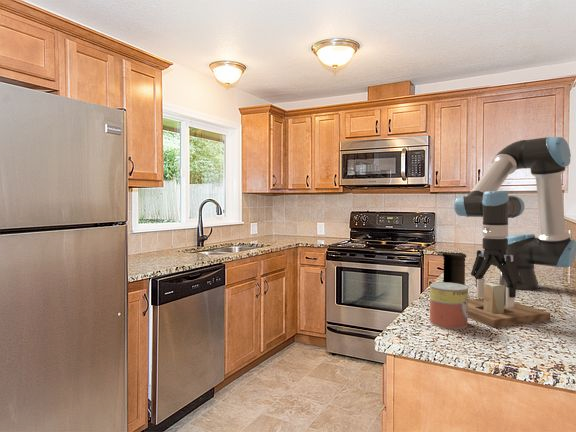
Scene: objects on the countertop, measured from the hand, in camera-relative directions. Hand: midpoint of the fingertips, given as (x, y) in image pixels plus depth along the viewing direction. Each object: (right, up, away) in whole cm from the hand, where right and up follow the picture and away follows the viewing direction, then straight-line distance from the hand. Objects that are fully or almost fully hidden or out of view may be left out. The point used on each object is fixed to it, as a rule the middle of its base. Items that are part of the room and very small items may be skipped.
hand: (494, 302), depth 136 cm
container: (-4, -4, +23) cm, 24 cm away
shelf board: (+2, -5, +3) cm, 6 cm away
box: (0, -5, 0) cm, 5 cm away
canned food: (-18, -6, -7) cm, 20 cm away
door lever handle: (+8, -2, +7) cm, 11 cm away
